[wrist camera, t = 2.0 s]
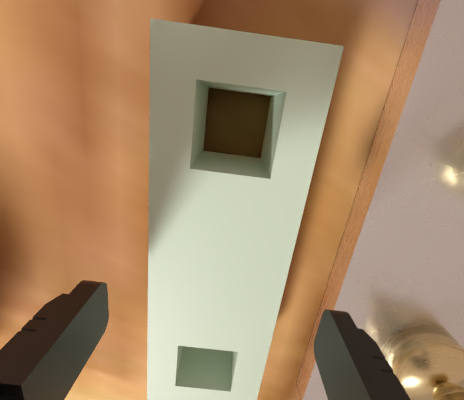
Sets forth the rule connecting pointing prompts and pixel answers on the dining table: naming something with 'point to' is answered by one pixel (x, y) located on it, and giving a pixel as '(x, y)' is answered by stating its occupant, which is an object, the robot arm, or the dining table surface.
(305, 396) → the board with brass pegs
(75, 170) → the dining table surface
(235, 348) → the bar
